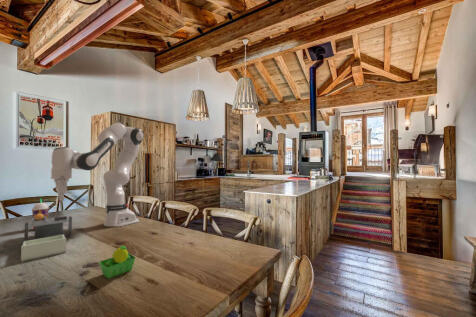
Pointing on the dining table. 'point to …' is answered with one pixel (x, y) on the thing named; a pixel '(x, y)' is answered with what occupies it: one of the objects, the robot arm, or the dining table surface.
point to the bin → (43, 247)
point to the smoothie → (40, 209)
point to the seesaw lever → (47, 221)
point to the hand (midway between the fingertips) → (61, 200)
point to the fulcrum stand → (48, 230)
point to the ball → (39, 217)
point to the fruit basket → (117, 263)
